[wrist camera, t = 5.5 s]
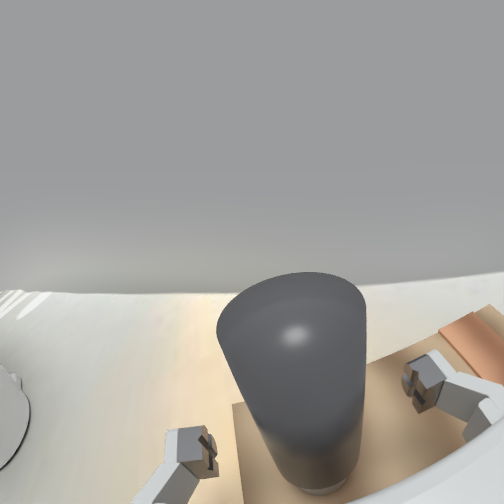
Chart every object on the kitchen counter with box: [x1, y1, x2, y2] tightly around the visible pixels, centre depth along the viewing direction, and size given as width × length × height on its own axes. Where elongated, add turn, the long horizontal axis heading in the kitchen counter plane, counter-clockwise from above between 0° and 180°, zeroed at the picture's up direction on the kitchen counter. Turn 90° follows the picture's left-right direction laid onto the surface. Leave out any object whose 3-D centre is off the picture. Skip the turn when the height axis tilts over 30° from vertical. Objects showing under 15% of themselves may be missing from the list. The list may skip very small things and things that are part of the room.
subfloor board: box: [232, 304, 504, 504], centre depth 13 cm, size 23×14×2 cm, turn 97°
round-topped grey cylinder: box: [216, 272, 366, 496], centre depth 10 cm, size 4×4×12 cm
